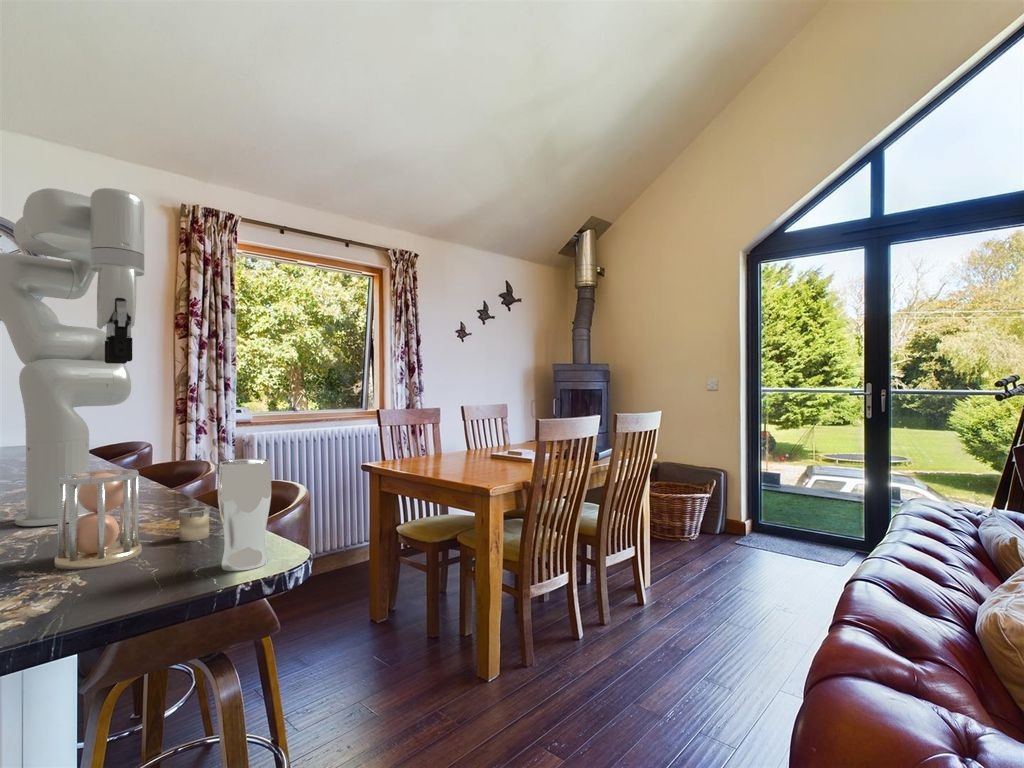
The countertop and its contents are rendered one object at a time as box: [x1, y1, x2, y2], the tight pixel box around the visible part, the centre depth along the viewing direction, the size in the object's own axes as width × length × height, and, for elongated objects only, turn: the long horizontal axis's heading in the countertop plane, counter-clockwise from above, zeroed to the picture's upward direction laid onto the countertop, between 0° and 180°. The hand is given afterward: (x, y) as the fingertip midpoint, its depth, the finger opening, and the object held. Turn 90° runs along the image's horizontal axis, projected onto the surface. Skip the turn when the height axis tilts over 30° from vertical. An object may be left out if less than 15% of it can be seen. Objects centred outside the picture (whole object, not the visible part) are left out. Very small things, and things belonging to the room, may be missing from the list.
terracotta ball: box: [78, 473, 123, 513], centre depth 82 cm, size 6×6×6 cm
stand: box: [178, 506, 211, 542], centre depth 91 cm, size 4×4×5 cm
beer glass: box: [217, 458, 272, 572], centre depth 77 cm, size 7×7×15 cm
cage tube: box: [54, 468, 142, 570], centre depth 81 cm, size 10×10×13 cm
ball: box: [67, 513, 120, 554], centre depth 80 cm, size 6×6×6 cm
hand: (118, 362), depth 92 cm, fingers open, 9 cm apart
